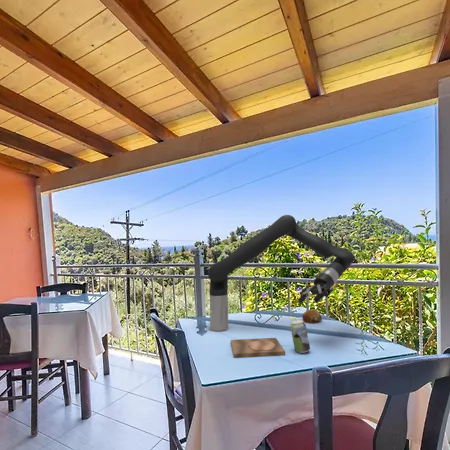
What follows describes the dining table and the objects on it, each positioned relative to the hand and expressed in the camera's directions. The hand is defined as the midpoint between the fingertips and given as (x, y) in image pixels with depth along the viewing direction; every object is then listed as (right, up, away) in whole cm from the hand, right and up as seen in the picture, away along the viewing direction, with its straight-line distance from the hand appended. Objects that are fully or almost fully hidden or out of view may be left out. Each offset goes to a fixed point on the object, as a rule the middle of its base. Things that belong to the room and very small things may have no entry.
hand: (307, 301), depth 126 cm
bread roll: (+13, -20, +38) cm, 45 cm away
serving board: (-21, -20, 0) cm, 29 cm away
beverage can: (-4, -19, -4) cm, 20 cm away
